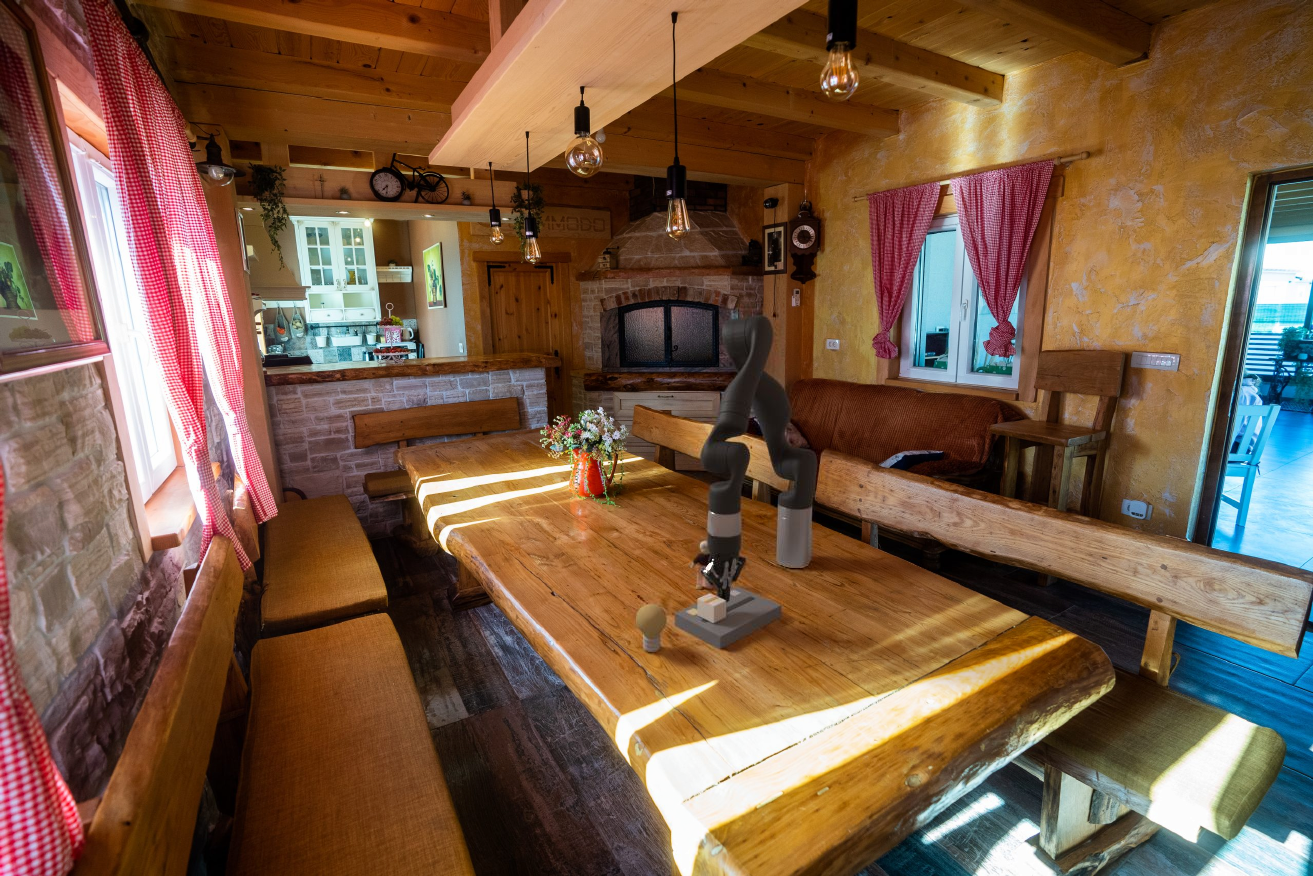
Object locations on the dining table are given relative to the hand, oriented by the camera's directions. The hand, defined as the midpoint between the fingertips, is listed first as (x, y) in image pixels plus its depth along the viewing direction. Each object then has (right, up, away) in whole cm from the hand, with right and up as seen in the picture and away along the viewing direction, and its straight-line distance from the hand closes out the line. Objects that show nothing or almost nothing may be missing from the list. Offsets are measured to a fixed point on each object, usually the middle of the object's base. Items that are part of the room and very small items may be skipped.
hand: (723, 601), depth 143 cm
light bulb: (-16, -8, -9) cm, 20 cm away
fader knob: (-3, -3, -2) cm, 4 cm away
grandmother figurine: (-2, -2, +20) cm, 20 cm away
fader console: (+1, -5, +2) cm, 6 cm away
